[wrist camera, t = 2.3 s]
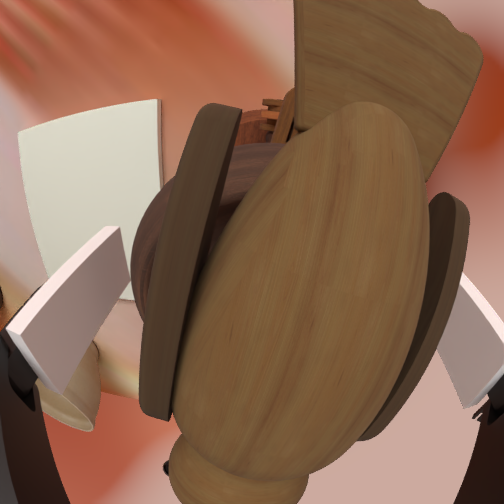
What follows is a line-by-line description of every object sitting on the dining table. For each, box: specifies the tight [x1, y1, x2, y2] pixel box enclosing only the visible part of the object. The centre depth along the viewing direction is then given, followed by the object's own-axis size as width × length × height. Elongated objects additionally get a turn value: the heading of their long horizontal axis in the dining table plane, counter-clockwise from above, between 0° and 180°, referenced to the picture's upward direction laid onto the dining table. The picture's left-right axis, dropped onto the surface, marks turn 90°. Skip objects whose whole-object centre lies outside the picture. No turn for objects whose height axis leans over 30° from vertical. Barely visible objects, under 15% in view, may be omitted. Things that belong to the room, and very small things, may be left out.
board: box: [18, 99, 164, 300], centre depth 21 cm, size 16×18×1 cm
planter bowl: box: [35, 341, 101, 431], centre depth 26 cm, size 16×16×11 cm
